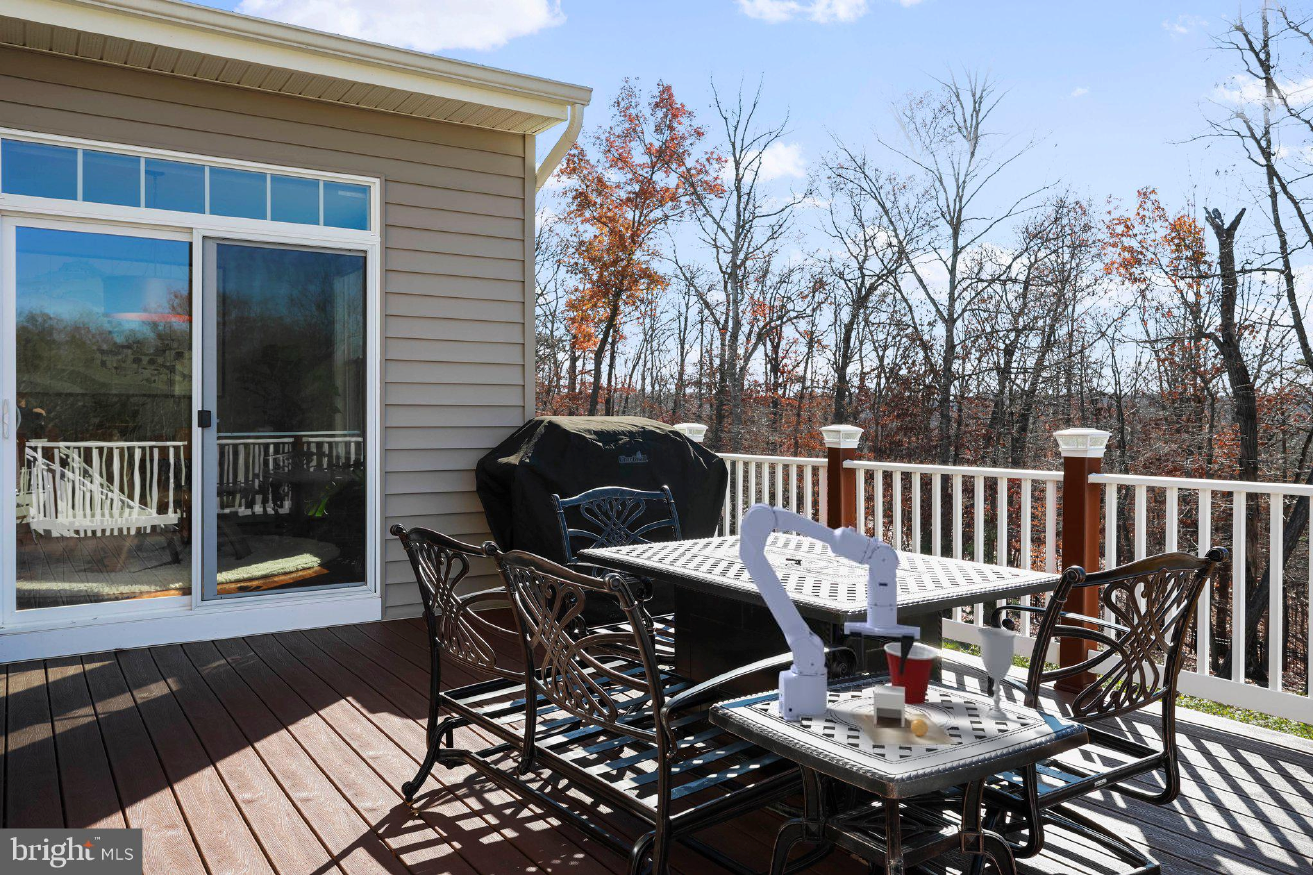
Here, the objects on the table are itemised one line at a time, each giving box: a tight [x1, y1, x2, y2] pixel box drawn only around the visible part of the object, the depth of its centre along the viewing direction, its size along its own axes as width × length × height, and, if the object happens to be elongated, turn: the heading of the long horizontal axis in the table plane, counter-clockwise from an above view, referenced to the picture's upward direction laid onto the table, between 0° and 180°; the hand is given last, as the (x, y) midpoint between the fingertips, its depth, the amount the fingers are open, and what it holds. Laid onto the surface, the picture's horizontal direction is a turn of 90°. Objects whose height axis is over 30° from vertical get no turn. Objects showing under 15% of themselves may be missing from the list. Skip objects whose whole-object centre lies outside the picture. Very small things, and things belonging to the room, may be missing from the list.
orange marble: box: [911, 719, 928, 736], centre depth 156 cm, size 3×3×3 cm
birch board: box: [849, 713, 959, 746], centre depth 160 cm, size 15×17×1 cm
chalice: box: [977, 627, 1017, 722], centre depth 167 cm, size 7×7×18 cm
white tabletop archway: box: [873, 684, 906, 727], centre depth 164 cm, size 6×6×6 cm
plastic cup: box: [883, 642, 938, 705], centre depth 179 cm, size 11×11×12 cm
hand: (881, 671), depth 169 cm, fingers open, 7 cm apart
